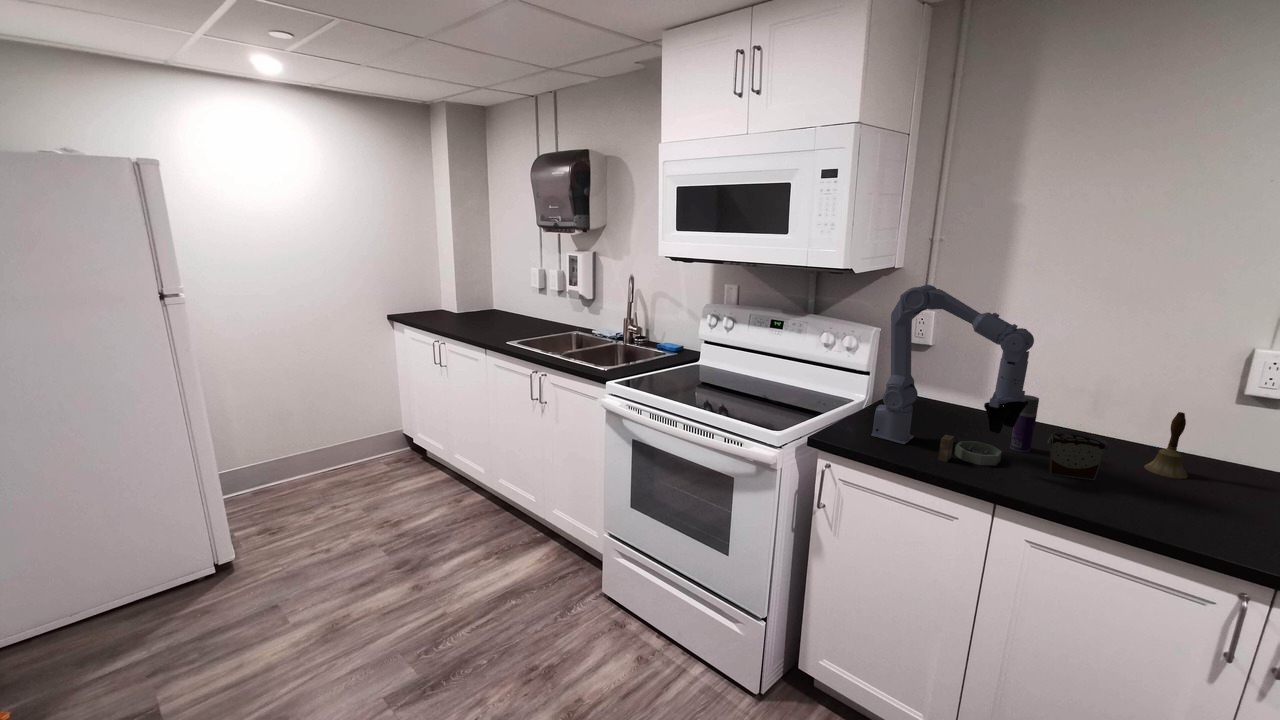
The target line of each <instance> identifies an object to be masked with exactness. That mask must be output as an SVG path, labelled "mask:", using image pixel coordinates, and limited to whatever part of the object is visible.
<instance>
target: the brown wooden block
mask: <svg viewBox="0 0 1280 720" xmlns="http://www.w3.org/2000/svg"><path fill="white" fill-rule="evenodd" d="M954 440H955V436H954V435H949V434H945V435H944V436H943V437H941V438H940V443H939V449H938V450H939V451H938V459H937V461H941V462H944V463H945V462H946V463H947V462H948V461H949V460H950V459H951V458H952V453H953V447H954Z"/></svg>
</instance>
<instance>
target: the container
mask: <svg viewBox="0 0 1280 720" xmlns="http://www.w3.org/2000/svg"><path fill="white" fill-rule="evenodd" d="M1024 397H1025V398H1027V400H1026V401H1028V405H1027V406H1026V407H1025V408H1024V409H1023V410H1022V412H1021V414H1020V415H1019V417H1018V419H1017V422H1016V424H1015V426H1014V427H1013V429H1012V433H1011V440H1010V445H1009V448H1010V449H1011V450H1012V451H1016V452H1018V453H1029V452H1030V451H1031V447H1032V442H1033V437H1034V431H1035V426H1036V423H1037V422H1036V421H1037V416H1038V410H1039V402H1040V398H1039V397H1038V396H1034V395H1030V394H1025V395H1024Z"/></svg>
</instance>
